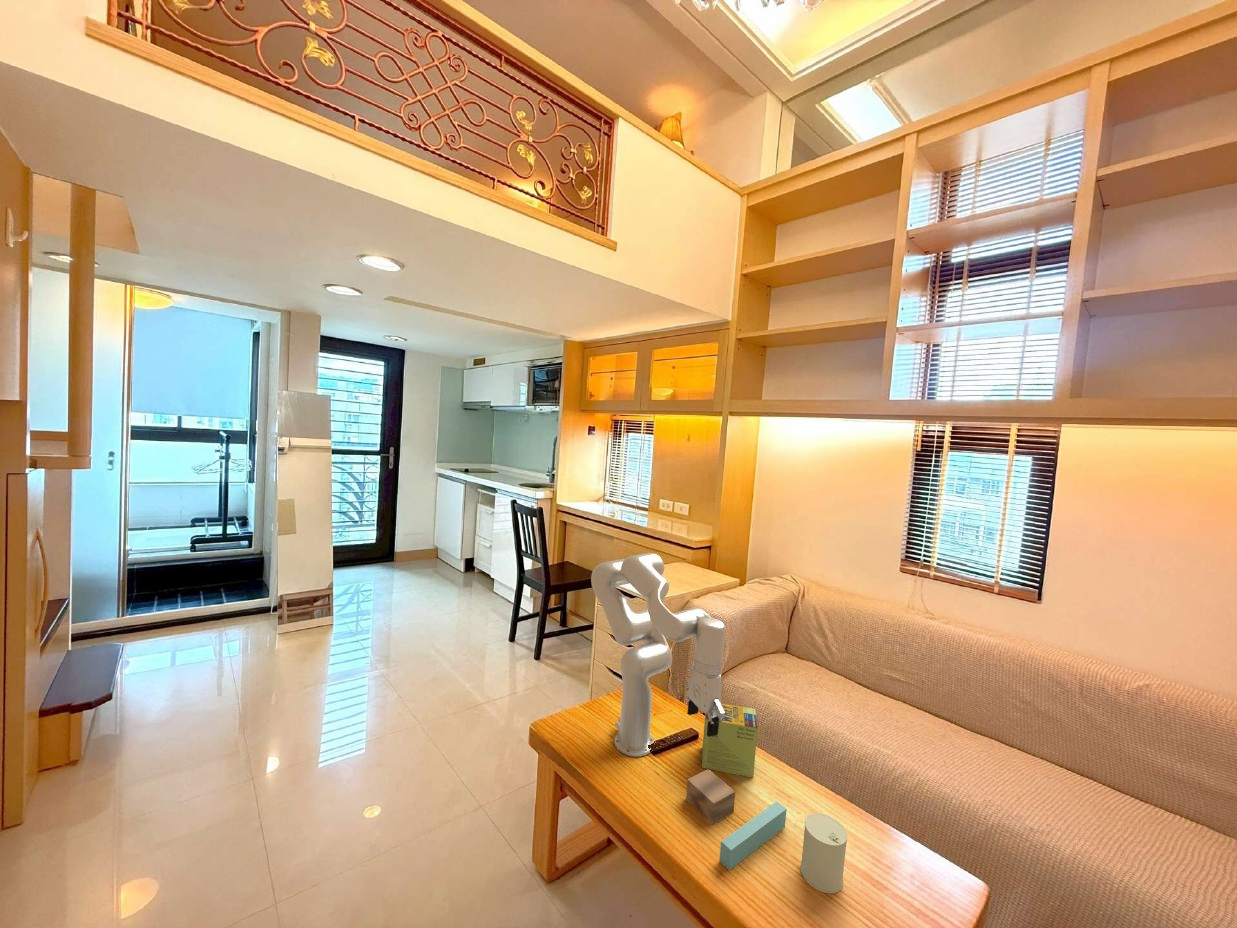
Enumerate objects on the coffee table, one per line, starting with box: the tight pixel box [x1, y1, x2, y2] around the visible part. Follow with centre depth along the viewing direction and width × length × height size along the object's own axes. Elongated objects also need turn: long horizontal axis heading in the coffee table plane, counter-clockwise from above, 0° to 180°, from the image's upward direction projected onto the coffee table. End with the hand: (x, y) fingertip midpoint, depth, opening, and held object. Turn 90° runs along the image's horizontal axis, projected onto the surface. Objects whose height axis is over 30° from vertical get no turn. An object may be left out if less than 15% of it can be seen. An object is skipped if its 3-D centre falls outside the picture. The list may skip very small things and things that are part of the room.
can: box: [799, 812, 848, 894], centre depth 114 cm, size 9×9×12 cm
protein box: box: [701, 703, 759, 778], centre depth 151 cm, size 10×15×16 cm
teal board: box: [719, 801, 787, 871], centre depth 122 cm, size 3×22×5 cm, turn 128°
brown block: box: [685, 768, 736, 825], centre depth 133 cm, size 10×8×6 cm
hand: (702, 724), depth 135 cm, fingers open, 9 cm apart
